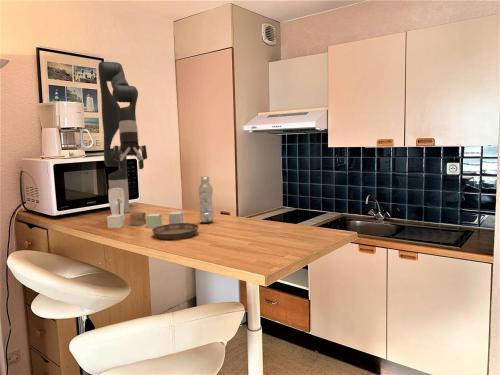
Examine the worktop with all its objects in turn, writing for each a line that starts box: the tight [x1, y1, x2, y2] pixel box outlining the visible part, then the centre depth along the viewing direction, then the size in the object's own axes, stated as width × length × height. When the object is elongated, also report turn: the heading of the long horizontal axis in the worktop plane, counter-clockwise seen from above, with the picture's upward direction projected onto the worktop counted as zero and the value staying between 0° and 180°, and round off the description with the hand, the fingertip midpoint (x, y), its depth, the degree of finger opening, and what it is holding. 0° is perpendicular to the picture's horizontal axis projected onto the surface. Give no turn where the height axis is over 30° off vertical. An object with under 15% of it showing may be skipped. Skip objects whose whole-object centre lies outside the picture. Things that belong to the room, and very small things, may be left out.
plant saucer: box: [151, 222, 200, 240], centre depth 152 cm, size 18×18×3 cm
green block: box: [146, 213, 163, 229], centre depth 168 cm, size 5×5×5 cm
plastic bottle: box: [197, 176, 215, 224], centre depth 172 cm, size 6×7×20 cm
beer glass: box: [107, 188, 126, 221], centre depth 182 cm, size 7×7×15 cm
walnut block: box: [129, 212, 147, 227], centre depth 173 cm, size 5×5×5 cm
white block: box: [106, 214, 125, 229], centre depth 170 cm, size 5×5×5 cm
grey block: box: [168, 211, 185, 224], centre depth 172 cm, size 5×5×5 cm
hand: (131, 169), depth 170 cm, fingers open, 8 cm apart
